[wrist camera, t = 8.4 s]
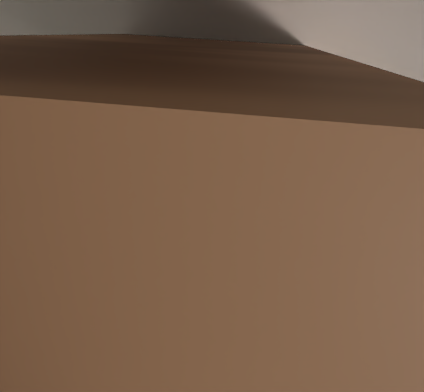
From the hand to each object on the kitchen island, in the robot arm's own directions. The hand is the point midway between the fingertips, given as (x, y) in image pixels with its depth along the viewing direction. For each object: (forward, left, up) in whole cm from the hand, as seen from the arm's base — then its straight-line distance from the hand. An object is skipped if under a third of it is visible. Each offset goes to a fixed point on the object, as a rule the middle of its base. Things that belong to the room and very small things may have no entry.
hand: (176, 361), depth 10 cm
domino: (0, -6, -4) cm, 8 cm away
